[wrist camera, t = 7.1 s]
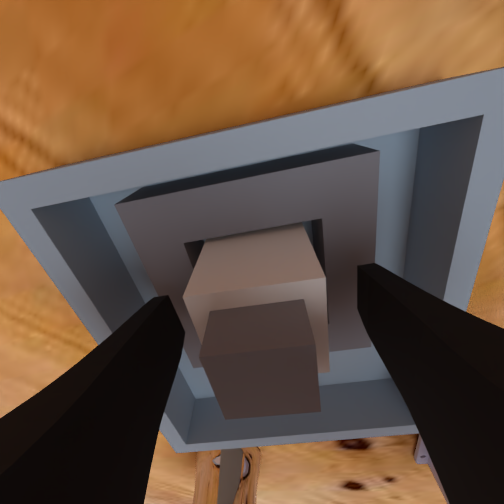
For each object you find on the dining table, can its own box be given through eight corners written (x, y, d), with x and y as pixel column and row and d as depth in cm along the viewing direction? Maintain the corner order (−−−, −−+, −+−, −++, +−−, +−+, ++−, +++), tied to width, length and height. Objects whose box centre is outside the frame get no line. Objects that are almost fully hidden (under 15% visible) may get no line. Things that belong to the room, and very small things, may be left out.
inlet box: (401, 377, 18) (431, 432, 15) (189, 399, 19) (176, 453, 16) (443, 79, 9) (537, 60, 6) (60, 165, 11) (-17, 185, 8)
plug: (302, 276, 13) (344, 421, 7) (231, 286, 13) (209, 432, 7) (295, 207, 11) (344, 320, 5) (213, 221, 11) (164, 341, 5)
